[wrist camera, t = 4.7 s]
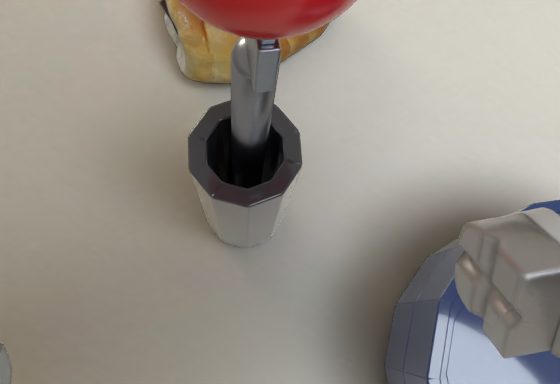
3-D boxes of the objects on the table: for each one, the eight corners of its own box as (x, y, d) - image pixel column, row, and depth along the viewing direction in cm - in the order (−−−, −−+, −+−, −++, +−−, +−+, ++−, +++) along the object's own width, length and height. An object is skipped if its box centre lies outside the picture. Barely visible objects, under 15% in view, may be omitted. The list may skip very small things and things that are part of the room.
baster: (295, 244, 24) (510, -165, 5) (206, 258, 23) (100, -148, 5) (279, 163, 25) (408, -394, 6) (195, 174, 24) (77, -404, 6)
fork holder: (272, 256, 24) (288, 218, 15) (197, 236, 24) (171, 187, 15) (290, 187, 25) (315, 114, 16) (218, 168, 25) (204, 85, 16)
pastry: (306, -49, 29) (315, -104, 25) (355, 49, 27) (373, 7, 24) (149, -1, 27) (135, -51, 23) (194, 106, 26) (186, 70, 22)
